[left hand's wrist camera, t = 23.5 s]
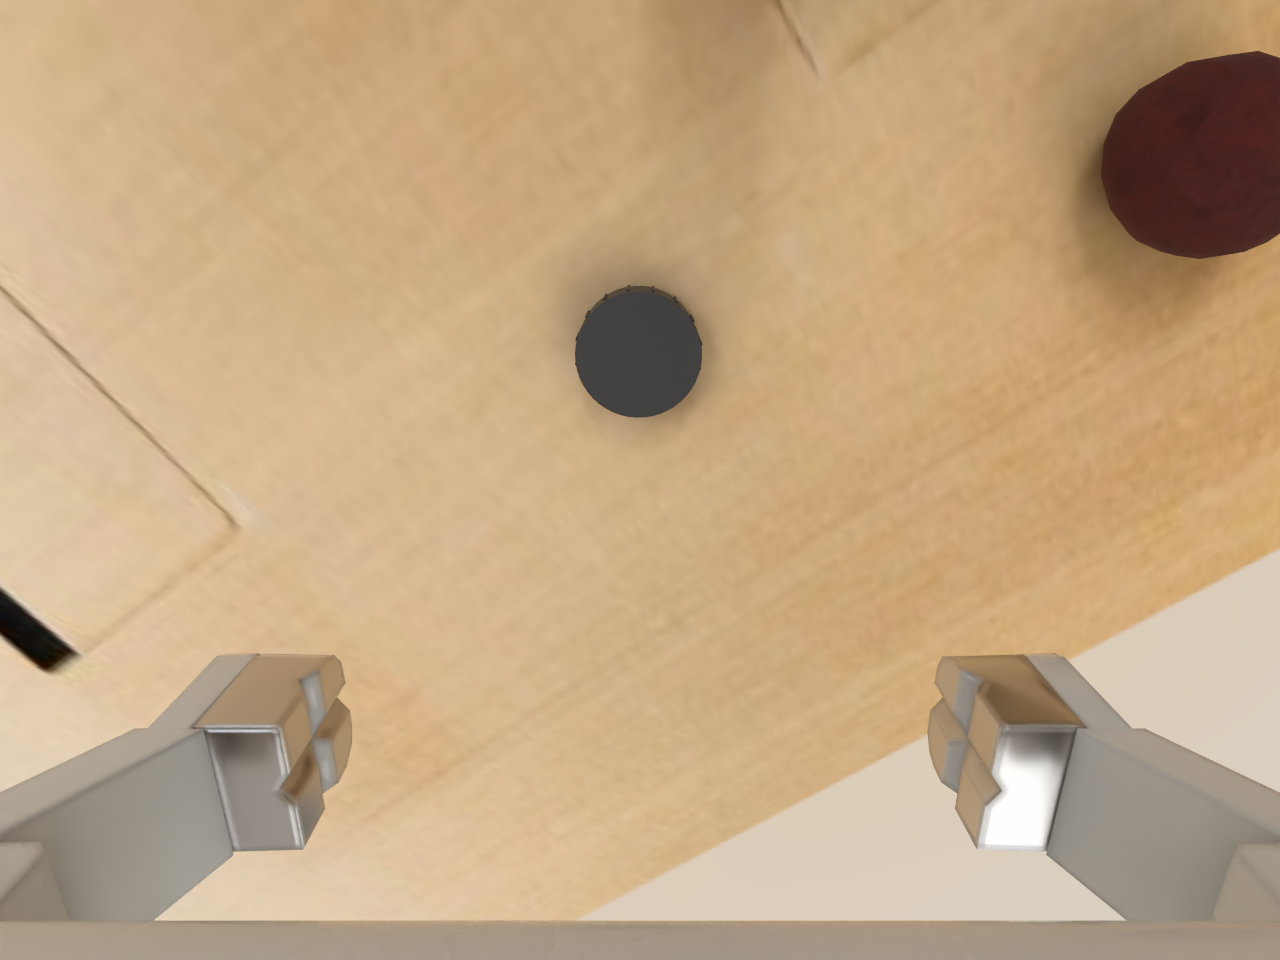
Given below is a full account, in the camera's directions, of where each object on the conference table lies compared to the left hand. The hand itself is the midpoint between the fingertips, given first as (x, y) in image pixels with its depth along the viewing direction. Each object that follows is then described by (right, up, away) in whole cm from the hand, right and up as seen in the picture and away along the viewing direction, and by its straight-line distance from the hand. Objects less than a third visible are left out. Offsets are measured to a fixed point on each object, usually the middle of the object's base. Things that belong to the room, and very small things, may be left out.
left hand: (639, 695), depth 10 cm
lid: (0, +9, +24) cm, 25 cm away
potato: (+22, +17, +23) cm, 36 cm away
